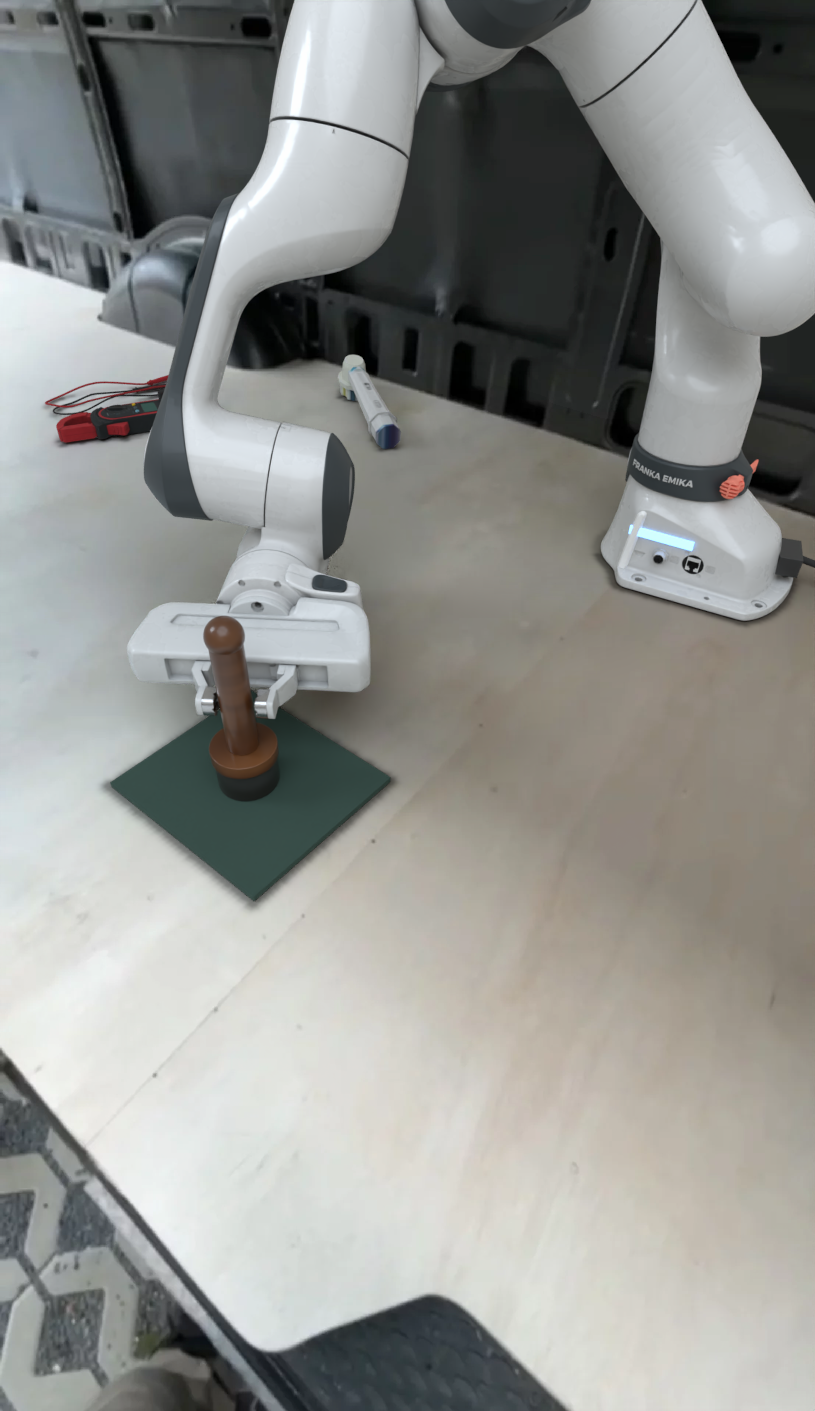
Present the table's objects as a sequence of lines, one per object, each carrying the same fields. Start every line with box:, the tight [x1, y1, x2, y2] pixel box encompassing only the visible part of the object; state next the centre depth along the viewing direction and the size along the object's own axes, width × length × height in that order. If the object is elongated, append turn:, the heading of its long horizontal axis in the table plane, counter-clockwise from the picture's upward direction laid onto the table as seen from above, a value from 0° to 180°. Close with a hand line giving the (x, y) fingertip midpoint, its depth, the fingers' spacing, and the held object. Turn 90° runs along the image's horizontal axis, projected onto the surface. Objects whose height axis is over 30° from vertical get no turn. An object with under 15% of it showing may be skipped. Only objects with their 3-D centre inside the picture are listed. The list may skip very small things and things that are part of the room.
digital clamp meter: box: [44, 374, 169, 444], centre depth 127 cm, size 23×4×25 cm
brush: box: [203, 616, 280, 801], centre depth 63 cm, size 6×6×17 cm
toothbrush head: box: [337, 354, 402, 450], centre depth 126 cm, size 5×7×25 cm
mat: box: [109, 689, 392, 902], centre depth 68 cm, size 18×16×1 cm
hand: (234, 711), depth 62 cm, fingers open, 3 cm apart
